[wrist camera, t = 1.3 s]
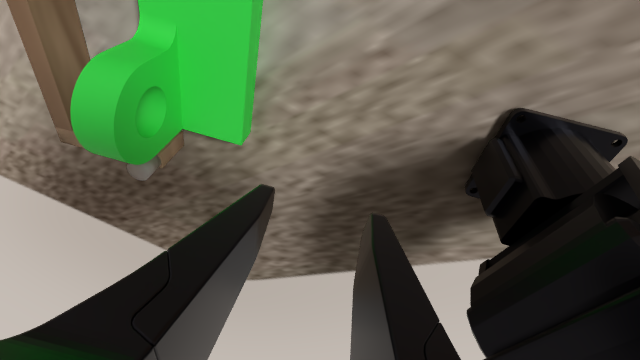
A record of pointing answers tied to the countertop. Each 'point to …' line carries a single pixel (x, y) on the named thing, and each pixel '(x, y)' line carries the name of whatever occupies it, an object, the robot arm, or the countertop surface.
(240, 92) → the mechanical part
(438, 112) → the countertop surface
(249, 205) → the robot arm
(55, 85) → the dock bracket
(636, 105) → the countertop surface
